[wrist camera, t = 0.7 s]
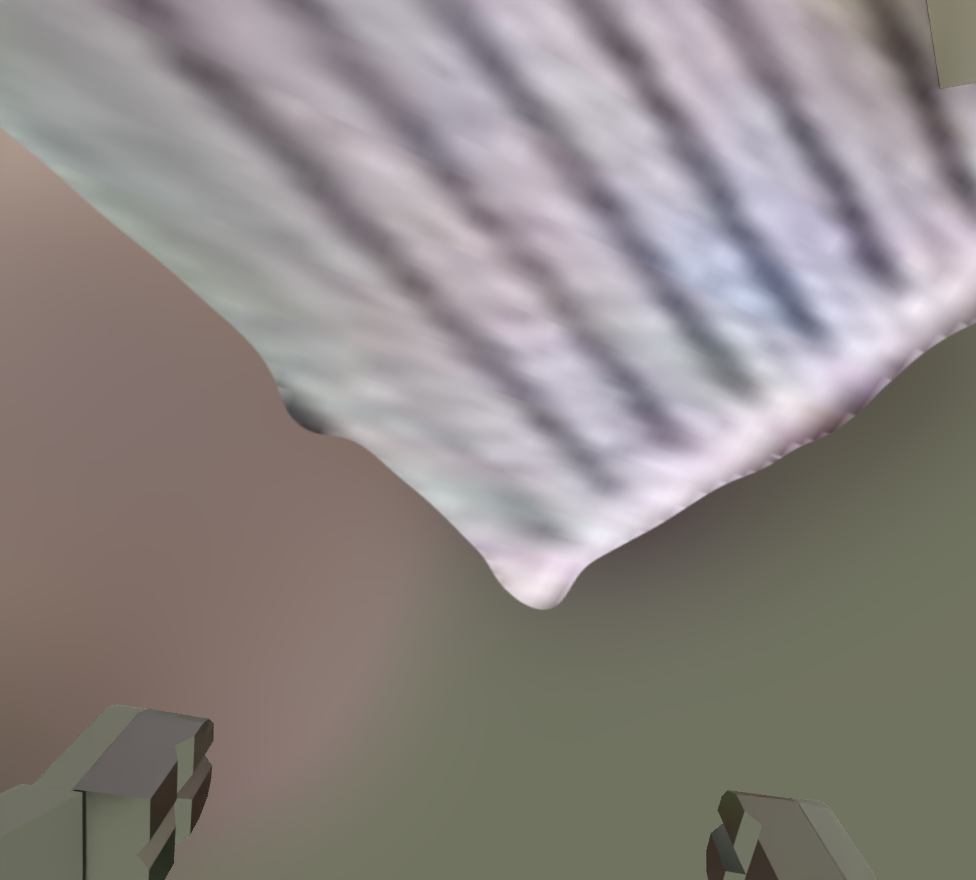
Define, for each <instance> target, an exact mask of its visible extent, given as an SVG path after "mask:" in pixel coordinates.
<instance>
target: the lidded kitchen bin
mask: <svg viewBox="0 0 976 880" xmlns="http://www.w3.org/2000/svg"><path fill="white" fill-rule="evenodd" d="M927 7H928V13H929V20H930V26H931V33H932V39H933V45H934V52H935V58H936V65H937V71H938V78H939V84H940V89H942V88H947V87H953V86H959V85H965V84H970V83H976V0H927Z"/></svg>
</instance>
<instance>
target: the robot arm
mask: <svg viewBox="0 0 976 880" xmlns="http://www.w3.org/2000/svg"><path fill="white" fill-rule="evenodd" d="M213 739H214V723H213V722H212V721H211V720H210V719H208V718H202V717H196V716H190V715H183V714H178V713H172V712H165V711H159V710H153V709H143V708H137V707H131V706H125V705H119V704H114V705H112V706H110V707H108V708H106V709H104V710H103V711H102V712H101V713H100V715H99V716H98V717H97V718H96V719H95V720H94V721H93V722H92V723H91V724H90V725H89V726H88V727H87V728H86V729H85V730H84V731H83V732H82V733H81V734H80V735H79V737H77V739H76V740H75V741H74V742H73V743H72V744H71V745H70V746H69V747H68V748H67V749H66V750H65V751H64V752H63V753H62V754H61V755H60V756H59V757H58V758H57V759H56V760H55V762H54V763H53V764H52V765H51V766H50V767H49V768H48V769H47V770H46V771H45V772H44V773H43V774H42V775H41V776H40V777H39V778H38V779H37V780H36V781H35V782H34V783H33V785H23V784H21V785H18V786H16V787H14V788H12V789H10V790H8V791H5V792H3V793H2V794H0V880H165V878H166V877H167V875H168V873H169V871H170V870H171V868H172V866H173V864H174V852H175V845H176V844H177V843H179V842H180V841H182V840H184V839H185V838H187V837H188V836H190V834H191V833H192V831H193V829H194V827H195V825H196V823H197V822H198V820H199V818H200V815H201V813H202V810H203V807H204V804H205V802H206V799H207V797H208V792H209V788H210V783H211V775H212V765H211V763H210V762H209V760H208V759H207V757H206V756H205V754H206V752H207V751H208V749H209V747H210V746H211V744H212V742H213ZM718 812H719V815H720V817H721V819H722V822H723V824H721V825H720V826H719V827H718V828H716V829H715V830H714V831H713V832H711V834H710V838H709V842H708V846H707V850H706V872H707V877H708V880H878V879H877V878H876V876H875V875H874V873H873V872H872V870H871V869H870V868H869V866H868V864H867V863H866V862H865V860H864V858H863V857H862V855H861V854H860V852H859V851H858V850H857V848H856V846H855V845H854V843H853V842H852V840H851V839H850V837H849V836H848V834H847V833H846V831H845V830H844V828H843V827H842V825H841V824H840V822H839V821H838V819H837V818H836V817H835V815H834V814H833V812H832V811H831V809H830V808H829V807H828V806H827V805H825V804H824V803H823V802H822V801H815V800H806V799H797V798H785V797H777V796H769V795H762V794H753V793H746V792H738V791H731V790H727V791H726V792H725V794H724V795H723V796H722V797H721V800H720V804H719V807H718Z"/></svg>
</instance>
